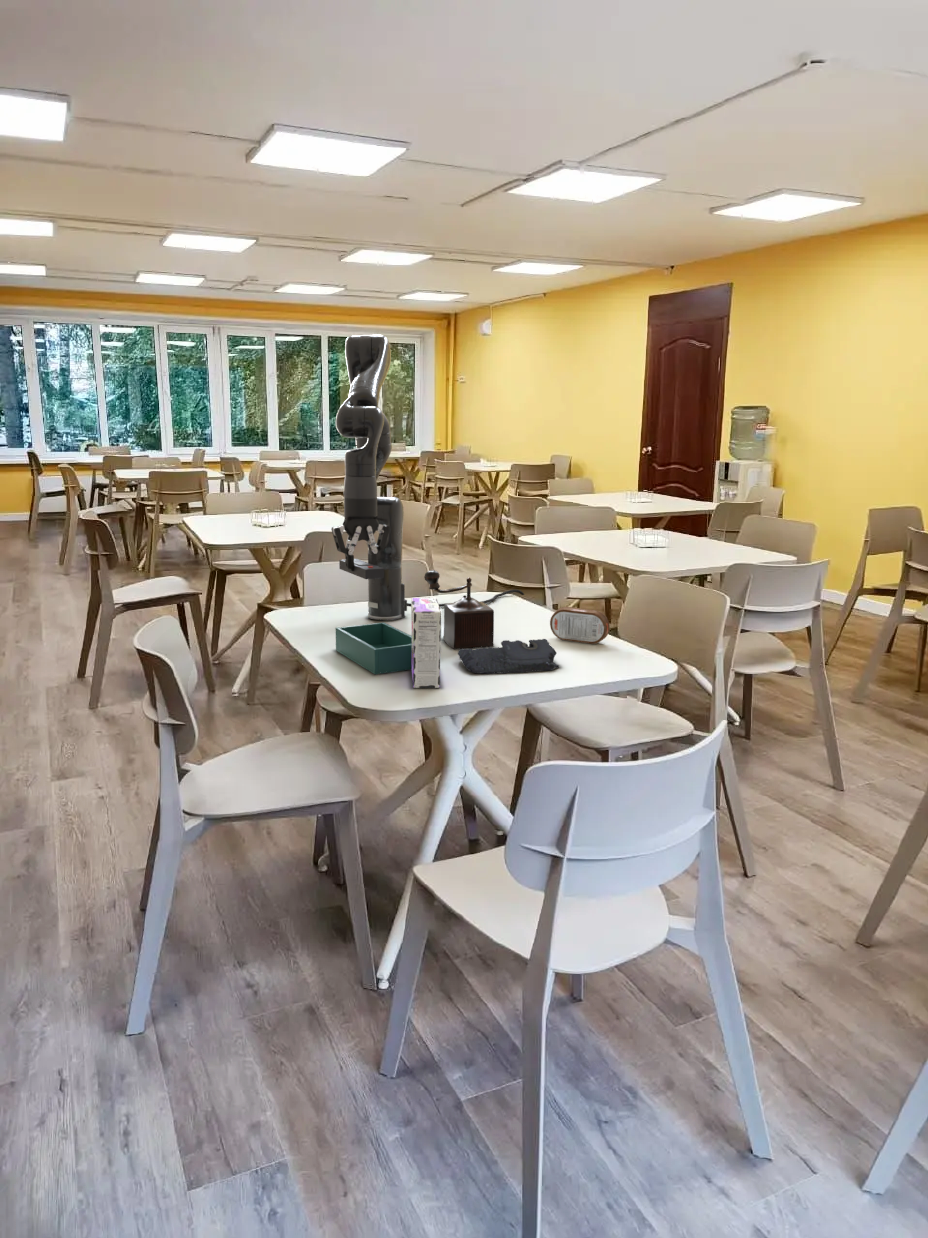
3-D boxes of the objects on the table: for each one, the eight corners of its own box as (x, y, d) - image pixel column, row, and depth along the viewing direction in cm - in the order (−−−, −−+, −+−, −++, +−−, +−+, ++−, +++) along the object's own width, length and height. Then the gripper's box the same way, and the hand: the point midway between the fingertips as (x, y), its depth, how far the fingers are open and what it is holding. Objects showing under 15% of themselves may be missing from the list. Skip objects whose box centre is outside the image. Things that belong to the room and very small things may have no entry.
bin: (384, 644, 217) (383, 622, 216) (426, 667, 198) (426, 643, 197) (335, 650, 211) (335, 627, 210) (374, 674, 192) (374, 649, 191)
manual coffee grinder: (481, 636, 226) (482, 566, 222) (494, 647, 216) (496, 574, 212) (422, 639, 222) (422, 568, 218) (432, 650, 212) (433, 576, 208)
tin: (609, 643, 221) (610, 610, 219) (605, 646, 218) (607, 613, 216) (552, 636, 227) (553, 604, 225) (547, 639, 224) (549, 606, 222)
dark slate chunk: (452, 657, 207) (452, 637, 205) (541, 652, 212) (542, 633, 211) (468, 675, 192) (469, 654, 191) (564, 670, 197) (565, 649, 196)
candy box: (410, 669, 196) (410, 596, 192) (437, 669, 196) (438, 596, 193) (412, 688, 183) (412, 610, 179) (440, 688, 183) (441, 610, 179)
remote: (356, 567, 213) (356, 557, 213) (384, 578, 200) (384, 567, 199) (339, 568, 211) (339, 558, 211) (365, 579, 198) (365, 568, 197)
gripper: (337, 497, 195) (337, 574, 199) (396, 496, 202) (396, 570, 205) (325, 495, 201) (326, 569, 205) (382, 494, 208) (382, 566, 212)
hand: (361, 569), depth 205 cm, fingers closed on remote, 4 cm apart
